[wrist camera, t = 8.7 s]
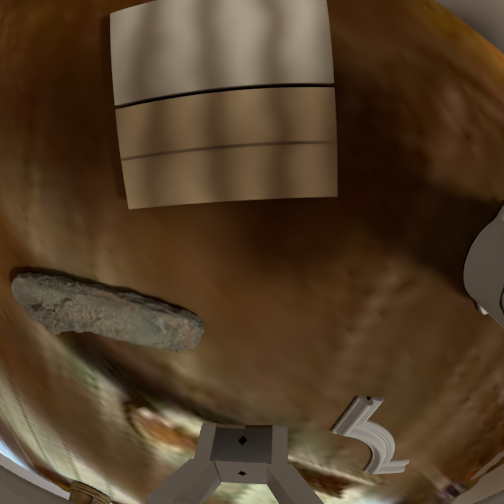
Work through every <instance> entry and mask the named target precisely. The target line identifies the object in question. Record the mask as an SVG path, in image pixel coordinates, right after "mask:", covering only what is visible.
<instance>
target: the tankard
mask: <svg viewBox="0 0 504 504" xmlns="http://www.w3.org/2000/svg"><path fill="white" fill-rule="evenodd" d="M70 491H71V492H70V497H69V500H70V501H72V502H74V503H77V504H110V503H111V499H110V498H109V497H108V496H107V495H106V494H104V493H103V492H101V491H99V490H97V489H95V488H93V487H91V486H89V485H86V484H83V483H80V482H72V484H71V485H70Z"/></svg>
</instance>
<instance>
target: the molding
mask: <svg viewBox="0 0 504 504" xmlns="http://www.w3.org/2000/svg"><path fill="white" fill-rule="evenodd" d="M383 400H384V399H383V398H377V397H371V399H370V400H367V398H366V396H358V397H357V398H356V399H355V401H354V402H353V404H352V405H351V406H350V407H349V409H348V410H347V411H346V413H345V414H344V415H343V417H342V418H341V419H340V420H339V422H338V423H337V424H336V425H335V427H334V428H333V429H332V430H331V431H332V433H336V434H340V435H342V436H348V437H352V438H356V439H359V440H361V441H363V442H365V443H366V444H367V445H368V446H369V447H370V448H371V449H372V452H373V455H372V459H371V461H370V463H369V465H368V466H367V467H366V468H365V469H364V472H368V473H370V474H383V473H398V472H404V470H405V465H407V464H408V463H409V461H410V460H409V459H404V460H391V458H392V456H393V454H394V450H395V443H394V440H393V437H392V435H391V434H390V433H389V432H388V431H387V430H386V429H385V428H384V427H382V426H380V425H378V424H376V423H374V422H372V421H369V420H368V419H369V417H370V416H371V415H372V414H373V413H374V411H375V410H376V409H377V408H378V406H379V405H380V404H381V403H382V401H383Z"/></svg>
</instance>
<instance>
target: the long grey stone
mask: <svg viewBox="0 0 504 504" xmlns="http://www.w3.org/2000/svg"><path fill="white" fill-rule="evenodd" d="M11 286H12V292H13V296H14V297H15V299H16V300H17V302H19V304H20V305H21V306H22V307H23V308H24V311H25V312H27V314H28V315H29V316H31V318H33V319H34V320H36V321H39V322H40V323H41V324H43V325H44V326H47V331H50V332H51V334H53V335H57V334H60V333H61V332H62V331H71V330H73V331H76V332H78V333H82V332H85V331H86V332H88V331H89V332H92V333H96V334H100V335H103V336H104V337H109V338H111V339H114V340H118V341H126V342H129V343H131V344H138V345H140V346H148V347H150V348H157V349H162V348H165V349H169V350H171V351H176V352H178V353H179V352H180V351H182V350H186V349H191V350H192V349H193V348H195V346H196V345H197V344H198V343H199V342H200V341H201V338H202V335H203V334H204V323H203V322H202V321H201V320H200V317H199V316H198V315H197V314H193V313H192V312H189V311H188V310H184V309H178V308H175V307H173V306H171V305H168V304H166V303H162V302H157V301H154V300H153V299H151V298H145V297H143V296H140V295H138V294H135V293H131V292H130V293H128V292H118V291H117V290H113V289H108V288H105V287H103V285H101V284H86V283H81V282H79V281H72V279H71V278H68V277H67V278H65V277H63V276H50V275H44V274H42V273H37V274H33V273H31V272H29V273H24V274H23V273H20V274H18V275H17V276H16V277H15V278H14V279H13V282H12V285H11Z"/></svg>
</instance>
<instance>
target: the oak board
mask: <svg viewBox="0 0 504 504" xmlns="http://www.w3.org/2000/svg"><path fill="white" fill-rule="evenodd" d="M115 113H116V123H117V132H118V140H119V149H120V156H121V163H122V170H123V177H124V183H125V190H126V196H127V201H128V207H129V209H137V208H147V207H158V206H170V205H182V204H194V203H208V202H223V201H239V200H258V199H279V198H305V197H338V170H337V127H336V104H335V87H287V88H263V89H248V90H235V91H225V92H215V93H207V94H199V95H191V96H184V97H178V98H172V99H166V100H160V101H154V102H149V103H144V104H139V105H134V106H129V107H125V108H120V109H116V110H115Z"/></svg>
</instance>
